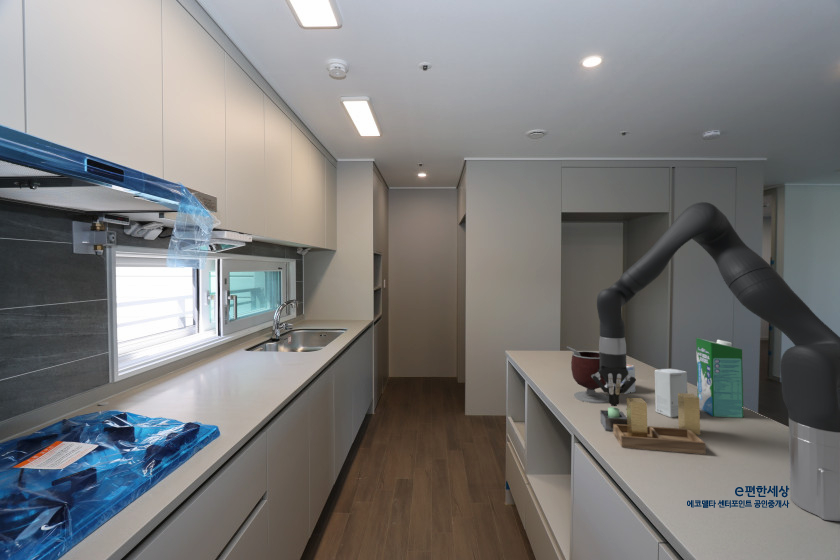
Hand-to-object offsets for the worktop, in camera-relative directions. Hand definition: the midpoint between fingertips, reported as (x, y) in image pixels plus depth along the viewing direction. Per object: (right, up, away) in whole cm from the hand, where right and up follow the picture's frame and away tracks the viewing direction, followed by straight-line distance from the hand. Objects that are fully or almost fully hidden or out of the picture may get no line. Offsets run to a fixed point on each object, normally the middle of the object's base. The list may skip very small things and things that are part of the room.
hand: (613, 405), depth 113 cm
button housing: (0, -7, 0) cm, 7 cm away
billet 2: (+21, -6, -4) cm, 22 cm away
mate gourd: (+5, -7, +28) cm, 29 cm away
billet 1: (+1, -7, -10) cm, 12 cm away
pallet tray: (+6, -7, -11) cm, 15 cm away
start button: (0, -5, 0) cm, 5 cm away
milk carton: (+42, -6, +10) cm, 43 cm away
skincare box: (+25, -6, +10) cm, 28 cm away
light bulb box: (+22, -6, +37) cm, 43 cm away
